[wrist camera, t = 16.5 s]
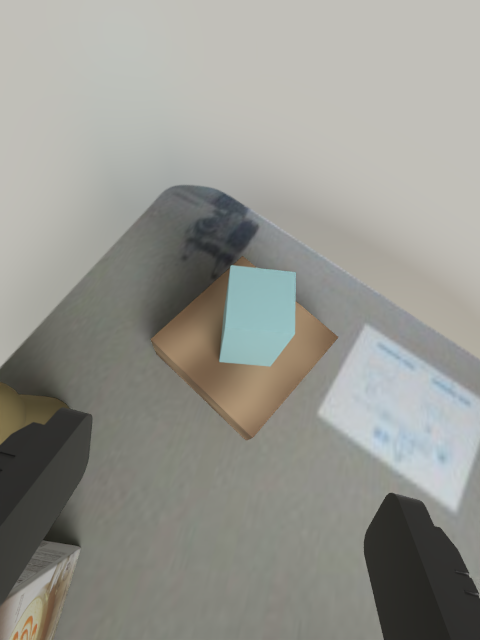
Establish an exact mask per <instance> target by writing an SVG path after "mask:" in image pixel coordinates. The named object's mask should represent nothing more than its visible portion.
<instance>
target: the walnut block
mask: <svg viewBox="0 0 480 640" xmlns="http://www.w3.org/2000/svg"><path fill="white" fill-rule="evenodd" d="M233 265H234V266H243V267H252V268H256V267H255V266H254V265H253V264H252V263H250V262H249V261H248V260H247V259H246V258H244V257H243V256H242V257H241V258H240V259H239V260H238V261H237V262H236V263H234V264H233ZM229 273H230V268H229V269H228V270H227V271H226V272H224V273H223V274H222V275H221V276H220V277H219V278H218V279H217V280H216V281H215V282H213V283H212V284H211V285H210V286H209V287H208V288H207V289H206V290H205V291H203V292H202V293H201V294H200V295H199V296H198V297H197V298H196V299H195V300H193V301H192V302H191V303H190V304H189V305H188V306H187V307H186V308H185V309H184V310H182V311H181V312H180V313H179V314H178V315H177V316H176V317H175V318H174V319H172V320H171V321H170V322H169V323H168V324H167V325H166V326H165V327H164V328H162V329H161V330H160V331H159V332H158V333H157V334H156V335H155V336H154V337H153V338H151V342H152V344H153V347H154V349H155V351H156V354H157V355H158V356H159V357H160V358H161V359H162V360H163V361H164V362H165V363H167V364H168V365H169V366H170V367H171V368H172V369H173V370H174V371H175V372H176V373H177V374H178V375H179V376H180V377H181V378H182V379H183V380H184V381H185V382H186V383H187V384H188V385H189V386H190V387H191V388H192V389H193V390H194V391H195V392H196V393H197V394H199V395H200V396H201V397H202V398H203V399H204V400H205V401H206V402H207V403H208V404H209V405H210V406H211V407H212V408H213V409H214V410H215V411H216V412H217V413H218V414H219V415H220V416H221V417H222V418H223V419H224V420H225V421H226V422H227V423H228V424H230V425H231V426H232V427H233V428H234V429H235V430H236V431H237V432H238V433H239V434H240V435H241V436H242V437H243V438H244V439H245V440H249V439H251V438H253V437H254V436H255V435H256V433H257V432H258V431H259V430H260V429H261V428H262V426H263V425H264V424H265V423H266V422H267V420H268V419H269V418H270V417H271V416H272V415H273V413H274V412H275V411H276V410H277V409H278V408H279V406H280V405H281V404H282V403H283V402H284V401H285V399H286V398H287V397H288V396H289V395H290V394H291V392H292V391H293V390H294V389H295V388H296V387H297V385H298V384H299V383H300V382H301V381H302V379H303V378H304V377H305V376H306V375H307V374H308V372H309V371H310V370H311V369H312V368H313V367H314V365H315V364H316V363H317V362H318V361H319V360H320V358H321V357H322V356H323V355H324V354H325V353H326V351H327V350H328V349H329V348H330V347H331V345H332V344H333V343H334V342H335V341H336V340H337V338H338V336H336V335H335V334H334V333H333V332H332V331H330V330H329V329H328V328H327V327H326V326H325V325H323V324H322V323H321V322H320V321H319V320H318V319H316V318H315V317H314V316H313V315H312V314H310V313H309V312H308V311H307V310H306V309H305V308H303V307H302V306H301V305H300V304H299V303H298V302H296V301H295V335H294V336H293V337H292V339H291V340H290V341H289V343H288V344H287V345H286V347H285V348H284V349H283V351H282V352H281V353H280V355H279V356H278V357H277V359H276V360H275V361H274V363H273V364H272V365H271V367H269V366H258V365H247V364H236V363H225V362H219V358H220V347H221V336H222V325H223V314H224V307H225V300H226V294H227V287H228V280H229Z"/></svg>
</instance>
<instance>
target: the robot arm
mask: <svg viewBox="0 0 480 640" xmlns="http://www.w3.org/2000/svg"><path fill="white" fill-rule="evenodd" d="M91 429H92V415H91V414H88V413H84V412H80V411H76V410H72V409H68V408H64V407H62V408H60V409H59V410H58V411H57V412H56V413H55V414H54V415H53V416H52V417H51V418H50V419H49V420H48V421H47V422H46V424H45V425H44V424H40V423H36V422H33V423H31V424H29V425H27V426H25V427H23V428H21V429H19V430H18V431H16V432H14V433H12V434H11V435H10V436H9V437H8V438H7V439H6V440H5V441H4V442H3V443H2V444H1V445H0V607H1V606H2V604H3V602H4V601H5V599H6V598H7V596H8V594H9V593H10V591H11V590H12V588H13V587H14V585H15V583H16V582H17V580H18V579H19V577H20V575H21V574H22V572H23V571H24V569H25V568H26V566H27V564H28V563H29V561H30V560H31V558H32V557H33V555H34V553H35V552H36V550H37V549H38V547H39V545H40V544H41V542H42V541H43V539H44V538H45V536H46V534H47V533H48V531H49V530H50V528H51V526H52V525H53V523H54V522H55V520H56V519H57V517H58V515H59V514H60V512H61V511H62V509H63V507H64V506H65V504H66V503H67V501H68V500H69V498H70V496H71V495H72V493H73V492H74V490H75V489H76V487H77V485H78V484H79V482H80V480H81V478H82V476H83V474H84V472H85V469H86V466H87V463H88V459H89V450H90V440H91ZM364 555H365V560H366V564H367V569H368V573H369V577H370V582H371V586H372V590H373V594H374V599H375V603H376V607H377V612H378V616H379V620H380V625H381V629H382V633H383V637H384V640H480V598H479V593H478V590H477V588H476V586H475V584H474V582H473V580H472V578H469V572H468V570H467V568H466V566H465V564H464V561H463V559H462V557H461V555H460V553H459V551H458V549H457V548H456V547H455V546H454V544H453V543H452V542H451V541H450V539H449V538H448V537H447V535H446V534H445V533H444V532H443V530H442V529H441V528H440V527H436V526H434V524H433V522H432V520H431V518H430V515H429V513H428V511H427V509H426V507H425V505H424V504H423V502H422V501H420V500H417V499H413V498H410V497H406V496H402V495H398V494H394V493H389V494H388V495H387V496H386V497H385V499H384V501H383V502H382V504H381V506H380V508H379V509H378V511H377V513H376V515H375V516H374V518H373V520H372V522H371V524H370V525H369V527H368V529H367V531H366V534H365V539H364Z"/></svg>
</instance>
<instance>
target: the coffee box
mask: <svg viewBox="0 0 480 640" xmlns="http://www.w3.org/2000/svg"><path fill="white" fill-rule="evenodd" d="M80 549H81V548H80V547H78V546H74V545H68V544H62V543H56V542H50V541H44V540H43V541H42V542H41V544H40V545H39V547H38V549H37V550H36V552H35V553H34V555H33V557H32V558H31V560H30V561H29V563H28V564H27V566H26V568H25V569H24V571H23V572H22V574H21V575H20V577H19V579H18V580H17V582H16V583H15V585H14V587H13V588H12V590H11V591H10V593H9V594H8V596H7V598H6V599H5V601H4V602H3V604H2V606H1V607H0V640H53V638H54V635H55V632H56V628H57V625H58V622H59V618H60V615H61V612H62V609H63V605H64V602H65V599H66V596H67V592H68V589H69V586H70V583H71V580H72V576H73V573H74V570H75V566H76V563H77V560H78V557H79V553H80Z"/></svg>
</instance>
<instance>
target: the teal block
mask: <svg viewBox="0 0 480 640" xmlns="http://www.w3.org/2000/svg"><path fill="white" fill-rule="evenodd" d="M295 299H296V272H289V271H280V270H271V269H262V268H252V267H243V266H234V265H231V266H230V273H229V280H228V287H227V294H226V300H225V307H224V314H223V325H222V336H221V347H220V358H219V362H225V363H236V364H247V365H258V366H269V367H271V365H272V364H273V363H274V361H275V360H276V359H277V357H278V356H279V355H280V353H281V352H282V351H283V349H284V348H285V347H286V345H287V344H288V343H289V341H290V340H291V339H292V337H293V336H294V335H295Z"/></svg>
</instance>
